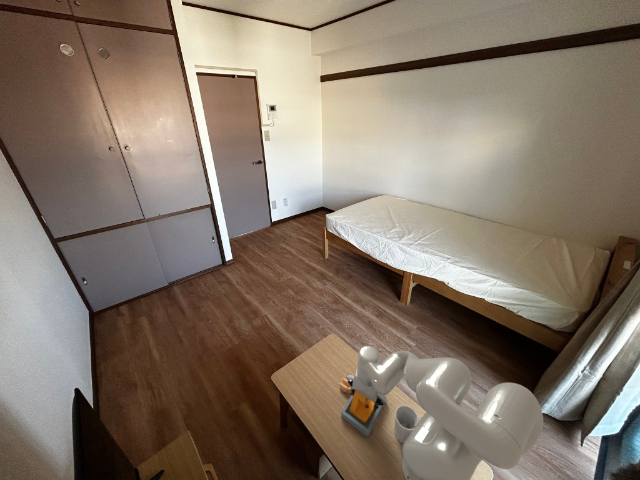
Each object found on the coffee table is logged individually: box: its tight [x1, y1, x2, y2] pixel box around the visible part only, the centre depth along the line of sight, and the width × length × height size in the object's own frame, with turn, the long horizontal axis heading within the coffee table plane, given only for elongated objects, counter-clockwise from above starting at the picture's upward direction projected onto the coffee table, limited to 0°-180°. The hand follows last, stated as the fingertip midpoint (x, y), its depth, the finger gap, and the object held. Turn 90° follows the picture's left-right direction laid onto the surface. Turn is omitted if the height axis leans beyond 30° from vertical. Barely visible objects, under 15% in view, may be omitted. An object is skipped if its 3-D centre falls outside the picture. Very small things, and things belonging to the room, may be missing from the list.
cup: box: [393, 404, 420, 444], centre depth 92 cm, size 8×8×12 cm
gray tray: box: [340, 394, 387, 438], centre depth 102 cm, size 12×16×4 cm
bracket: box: [350, 390, 375, 424], centre depth 99 cm, size 11×7×12 cm, turn 140°
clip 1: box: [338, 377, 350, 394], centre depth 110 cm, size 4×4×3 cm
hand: (364, 399), depth 99 cm, fingers open, 9 cm apart
